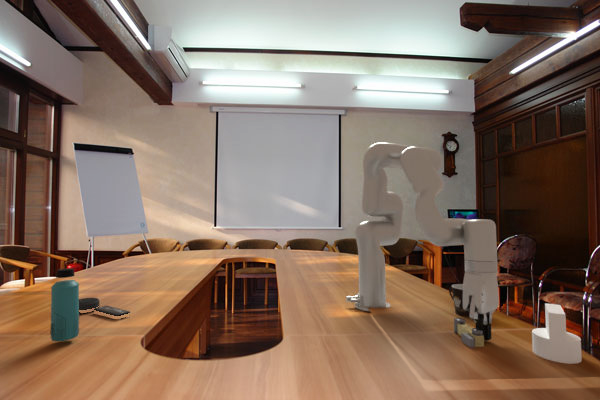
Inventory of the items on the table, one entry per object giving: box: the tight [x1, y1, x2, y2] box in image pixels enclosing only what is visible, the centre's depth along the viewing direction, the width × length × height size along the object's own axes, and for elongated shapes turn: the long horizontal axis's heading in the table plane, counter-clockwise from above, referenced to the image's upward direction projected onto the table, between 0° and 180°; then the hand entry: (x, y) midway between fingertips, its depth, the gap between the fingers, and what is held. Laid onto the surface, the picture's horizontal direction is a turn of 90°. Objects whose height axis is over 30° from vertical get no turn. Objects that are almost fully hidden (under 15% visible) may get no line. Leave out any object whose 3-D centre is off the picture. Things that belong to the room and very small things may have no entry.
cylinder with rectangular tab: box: [531, 302, 582, 365], centre depth 77 cm, size 9×9×12 cm
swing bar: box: [453, 317, 485, 348], centre depth 87 cm, size 12×3×4 cm, turn 0°
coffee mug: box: [448, 283, 470, 318], centre depth 110 cm, size 12×9×10 cm
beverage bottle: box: [49, 267, 81, 342], centre depth 91 cm, size 6×7×20 cm
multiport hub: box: [94, 305, 131, 316], centre depth 115 cm, size 4×14×2 cm, turn 59°
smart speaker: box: [79, 297, 100, 310], centre depth 120 cm, size 9×9×4 cm
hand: (483, 338), depth 86 cm, fingers closed
